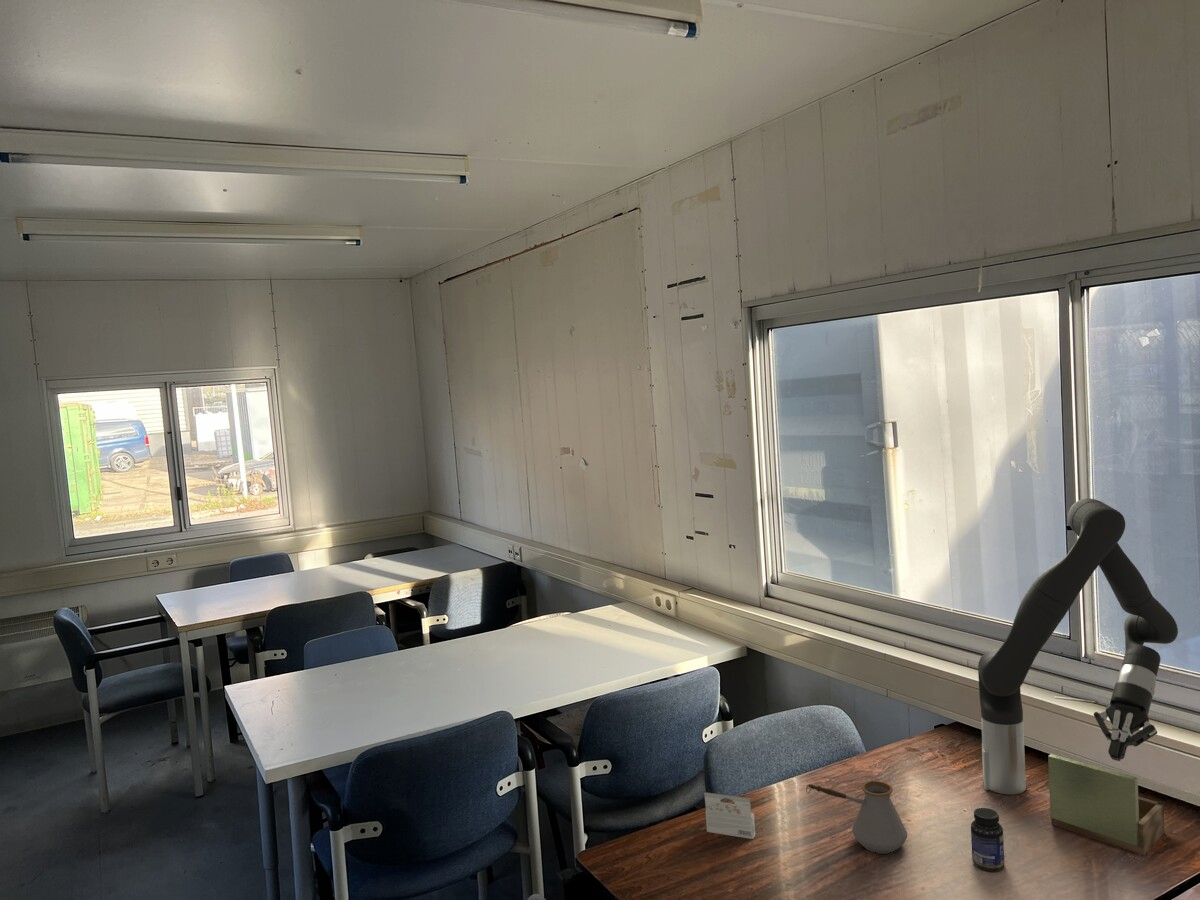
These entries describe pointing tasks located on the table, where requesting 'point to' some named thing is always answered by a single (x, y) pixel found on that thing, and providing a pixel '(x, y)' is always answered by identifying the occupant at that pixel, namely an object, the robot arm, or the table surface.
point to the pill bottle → (987, 840)
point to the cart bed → (1148, 827)
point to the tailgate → (1094, 798)
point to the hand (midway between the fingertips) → (1115, 758)
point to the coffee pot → (875, 817)
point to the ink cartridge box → (729, 816)
